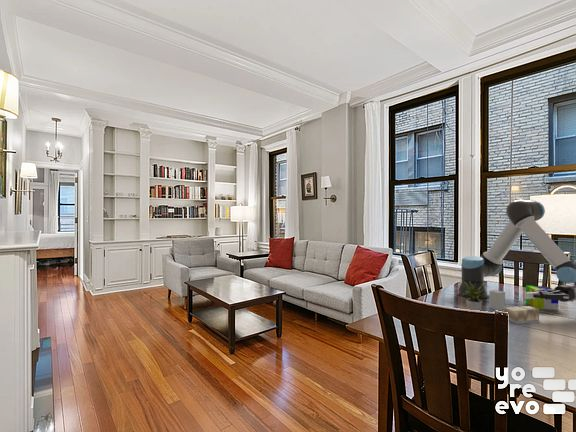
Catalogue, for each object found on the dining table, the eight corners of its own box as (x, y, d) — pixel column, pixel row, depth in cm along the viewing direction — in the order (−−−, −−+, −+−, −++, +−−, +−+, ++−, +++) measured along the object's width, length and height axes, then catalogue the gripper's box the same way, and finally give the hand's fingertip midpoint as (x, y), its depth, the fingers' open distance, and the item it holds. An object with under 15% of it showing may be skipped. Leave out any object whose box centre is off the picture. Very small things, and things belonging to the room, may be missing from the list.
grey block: (489, 307, 164) (489, 290, 163) (495, 306, 166) (495, 289, 166) (499, 310, 159) (499, 293, 159) (505, 309, 161) (505, 292, 161)
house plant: (449, 309, 161) (449, 278, 161) (468, 306, 166) (468, 276, 166) (474, 317, 148) (474, 284, 148) (494, 314, 153) (494, 281, 152)
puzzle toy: (558, 309, 159) (558, 290, 159) (536, 308, 161) (536, 290, 161) (546, 304, 169) (546, 286, 169) (525, 303, 171) (525, 285, 171)
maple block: (529, 306, 149) (504, 307, 147) (539, 309, 144) (513, 310, 142) (529, 316, 149) (504, 317, 147) (539, 319, 144) (513, 321, 142)
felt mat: (521, 315, 150) (521, 315, 150) (539, 322, 142) (539, 321, 142) (500, 317, 149) (500, 316, 149) (517, 323, 140) (517, 323, 140)
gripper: (582, 304, 142) (539, 307, 138) (553, 297, 155) (513, 299, 151) (582, 288, 142) (539, 291, 138) (553, 282, 155) (513, 284, 151)
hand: (525, 295), depth 145 cm, fingers closed
